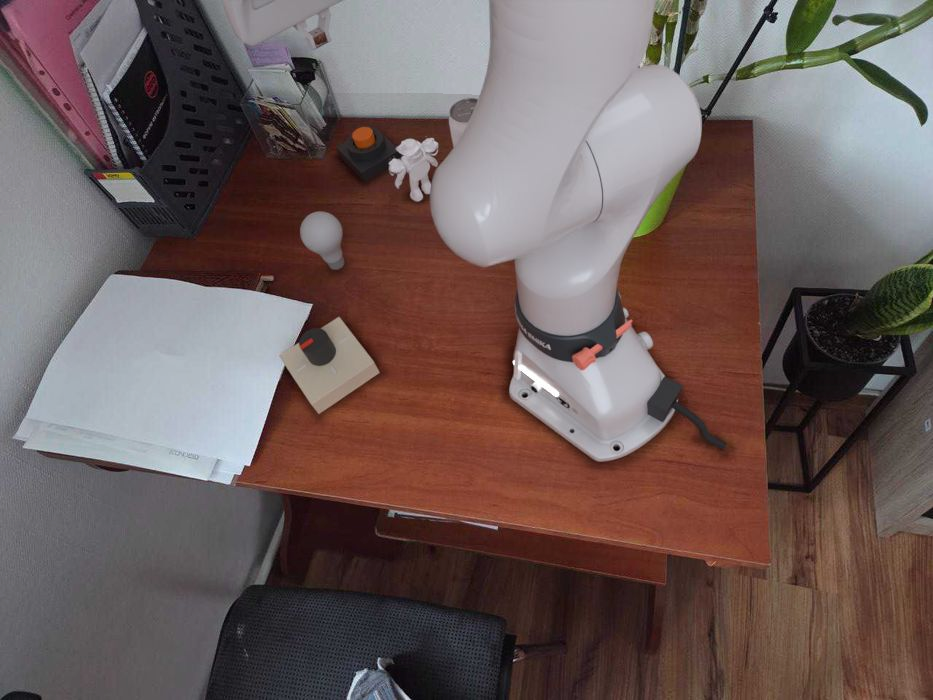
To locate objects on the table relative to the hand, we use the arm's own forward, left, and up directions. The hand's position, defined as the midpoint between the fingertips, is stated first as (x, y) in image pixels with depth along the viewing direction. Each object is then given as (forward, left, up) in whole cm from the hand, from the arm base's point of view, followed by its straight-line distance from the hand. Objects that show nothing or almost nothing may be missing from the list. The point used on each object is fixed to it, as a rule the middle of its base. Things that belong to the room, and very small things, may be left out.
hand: (320, 44), depth 86 cm
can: (-12, -15, -25) cm, 31 cm away
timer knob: (-29, +24, -22) cm, 44 cm away
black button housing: (+4, -3, -25) cm, 25 cm away
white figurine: (-10, -5, -25) cm, 27 cm away
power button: (+4, -3, -21) cm, 22 cm away
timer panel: (-30, +24, -25) cm, 46 cm away
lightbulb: (-14, +14, -25) cm, 32 cm away
